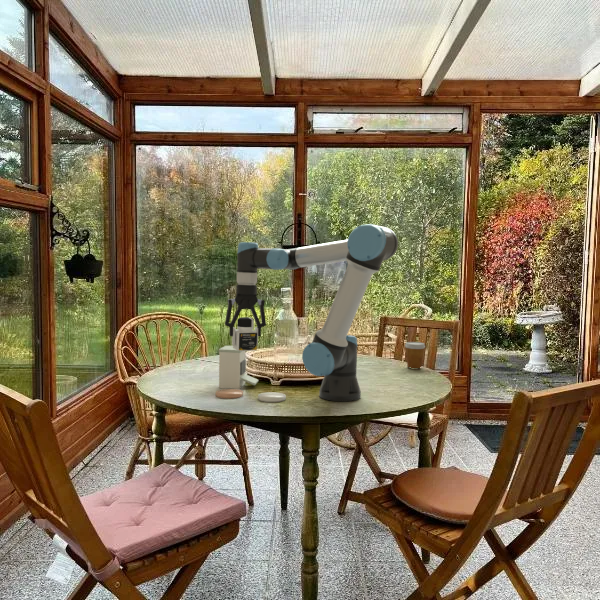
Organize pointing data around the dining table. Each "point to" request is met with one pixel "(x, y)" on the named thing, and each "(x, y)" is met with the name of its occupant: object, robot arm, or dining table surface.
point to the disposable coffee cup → (414, 354)
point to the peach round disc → (229, 393)
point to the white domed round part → (271, 397)
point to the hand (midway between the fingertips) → (244, 344)
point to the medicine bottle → (245, 335)
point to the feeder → (233, 368)
